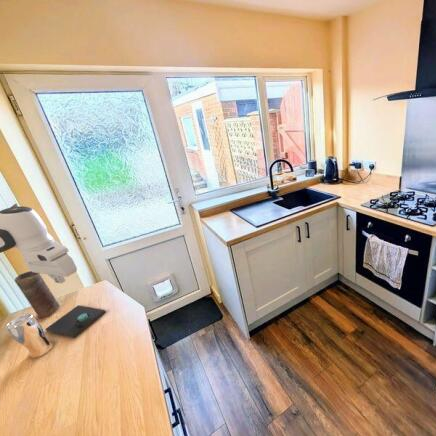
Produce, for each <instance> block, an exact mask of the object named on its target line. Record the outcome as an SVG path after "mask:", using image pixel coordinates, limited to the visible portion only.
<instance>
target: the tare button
mask: <svg viewBox="0 0 436 436" xmlns="http://www.w3.org/2000/svg"><path fill="white" fill-rule="evenodd" d="M87 318H88V315H87V314H86V313H84V314H81V315H80V316H79V317H78V320H79V322H82V321H84V320H86V319H87Z"/></svg>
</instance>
